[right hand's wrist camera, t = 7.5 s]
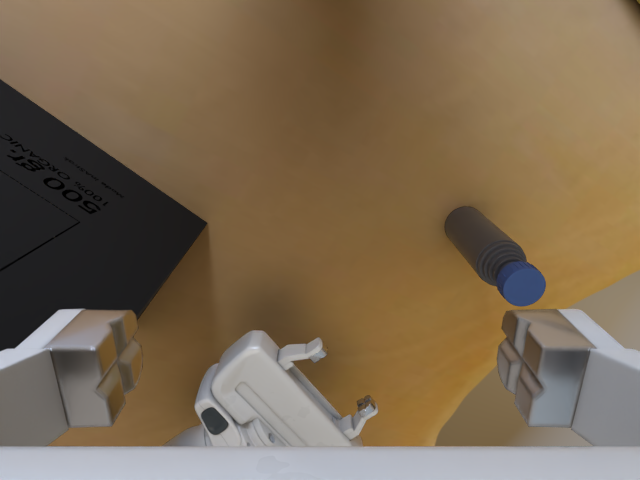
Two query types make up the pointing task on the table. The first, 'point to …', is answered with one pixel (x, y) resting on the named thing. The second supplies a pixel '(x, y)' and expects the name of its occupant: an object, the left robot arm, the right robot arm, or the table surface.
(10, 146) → the black boxy piece
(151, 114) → the table surface
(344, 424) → the left robot arm
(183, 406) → the table surface
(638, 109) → the table surface
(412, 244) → the table surface
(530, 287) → the cap
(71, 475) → the right robot arm
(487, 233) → the bottle
